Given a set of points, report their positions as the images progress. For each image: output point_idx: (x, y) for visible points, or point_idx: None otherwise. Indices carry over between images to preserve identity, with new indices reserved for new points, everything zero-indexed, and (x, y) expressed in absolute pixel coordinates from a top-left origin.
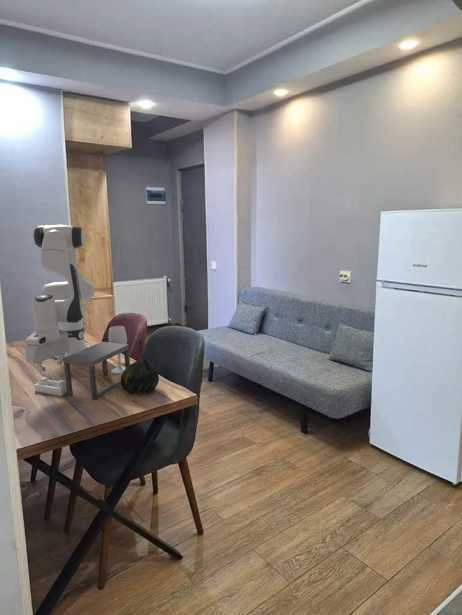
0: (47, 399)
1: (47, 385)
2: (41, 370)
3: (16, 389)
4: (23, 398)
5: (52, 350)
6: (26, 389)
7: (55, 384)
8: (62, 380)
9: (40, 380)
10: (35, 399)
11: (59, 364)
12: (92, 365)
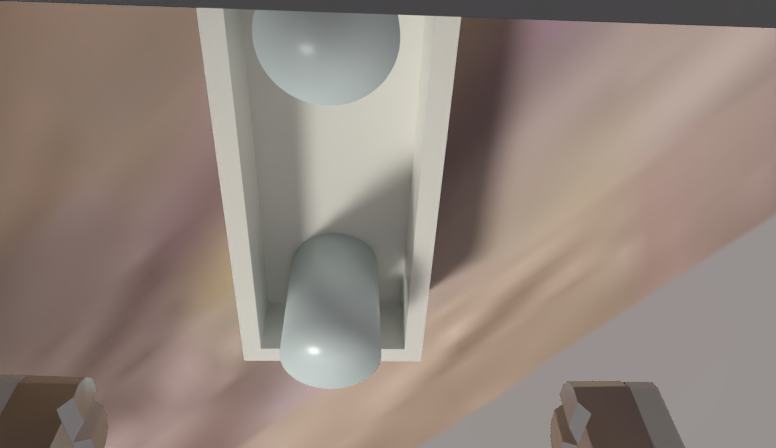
0: None
1: (329, 253)
2: (659, 421)
3: (425, 441)
4: (604, 276)
5: None
6: (400, 386)
7: (253, 194)
8: (281, 55)
9: (379, 354)
10: (619, 151)
11: (88, 385)
12: None
